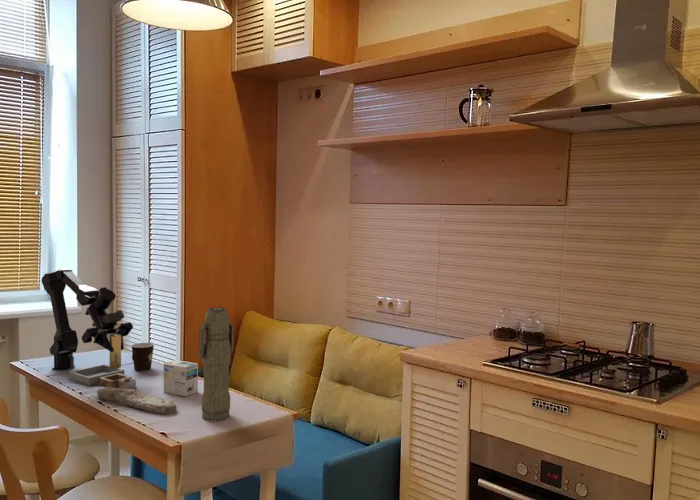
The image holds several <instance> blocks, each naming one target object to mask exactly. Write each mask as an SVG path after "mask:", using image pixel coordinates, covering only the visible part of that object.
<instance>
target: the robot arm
mask: <svg viewBox="0 0 700 500" xmlns="http://www.w3.org/2000/svg"><path fill="white" fill-rule="evenodd" d="M41 284H42V286H43V288H44V291H45V292H46V293H47V295H49V297H50V302H51V309H52V313H53V318H54V323H55V329H56V331H55V333H54V335H53V343H52V345H51V346H50V347H49V355H51V356H53V367H52V368H51V370H54V371H55V370H56V371H68V370H71V369H72V368H75V367H76V365H75V363H74V362H75V357H74V356H73V354H74V353H77V350H78V345H79V338H78V334H77V330H75V329H72V328H71V326H70V322H69V316H68V311H67V306H66V305H67V304H66V300H65V296H64V291H65V289H66V287H68V288H69V289H70V290H71V291H72V292H73V293H74V294H75V295H76V296H75V297H76V298H75V299H76V300H77V302H78V303H79V305H81V306H83V307H84V306H88V307H87V308H86V310H85V313H84V314H85V316H90V318H91V321H92V324H91V325H92V327H90V328H86V329H85V331H84V333H82V336H81V340H82V341H81V342H82V343H83V344H88V343H89V344H90V343H91V342H92V341H93V344H97V345H99V346H101V347H103V348H104V349H105V350H107V351H108V352H109V353H110V352H113V348H112V346H111V344H110V339H109V338H108V335H114V334H119V335H121V351H123V350H124V339H123V338H124V337H126V336H128V335H129V334H130V332H131V331H132V329H133V328H134V325H133V323H132V322H130V321H127V322H121V323H120V324H119V326H118V327H116V326H117V325H118V322H119V321H122V319H124V318H125V313H124V312H123V311H122V310H121V309H120V310H117V311H115V312H110V313H107V311H106V310H108V309H109V308H110V306H112V303H113V302H114V301H115V299H116V293H115V292H113V291H112V290H111V289H108V288H107V287H106V286H102V287H100V288H99V290H98V289H96V288H95V287H94V286H90V285H89V286H88V285H87V284H86V283H85V282H83V280H81V279H80V278H79V277H78V276H77V275H76V274H75V273H73V270H72V269H70V268H61V269H58V270H56V271H53V272H48V273H44V275H43V276H42V277H41ZM93 339H94V340H93Z"/></svg>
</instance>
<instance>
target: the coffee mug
mask: <svg viewBox="0 0 700 500" xmlns="http://www.w3.org/2000/svg"><path fill="white" fill-rule="evenodd" d="M154 347H155V344H154V343H151V342H136V343H133V344H131V351H132V352H131V353H132V355H131V359H132V363H133V369H134V371H136V372H148V371H150V370H151V369H152V362H153V354H154Z"/></svg>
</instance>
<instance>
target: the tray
mask: <svg viewBox="0 0 700 500" xmlns="http://www.w3.org/2000/svg"><path fill="white" fill-rule="evenodd" d="M117 373H119V374H123V375H125V369H123V368H117V369H111V368H110V364H109V365H108V364H105V363H104V364H100V365H94V366H90V367H85V368H80V369H76V370H71V371H68V379H69V380H70V381H72V382H76V383H78V384H82V385H85V386H87V387H90V386H96V385H99V378H100V377H104V376H108V375H113V374H117Z"/></svg>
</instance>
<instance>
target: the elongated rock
mask: <svg viewBox="0 0 700 500" xmlns="http://www.w3.org/2000/svg"><path fill="white" fill-rule="evenodd" d="M96 394H97V397H98V398H99V399H101V400H104V401H105V402H110V403H111V404H114V405H121V406H125V407H126V406H130V407H131V408H134V409H141V410H143V411H146V412H148V413H151V414H152V413H154V414H162V415H170V414H174V412H175V413H176V412H177V404H175V403H174V402H173V401H171V400H168V399H163V398H161V397H157V396H153V395H148V394H146V393H143V392H142V391H139V389H135V388H134V389H128V388H119V387H117V388H113V387H105V386H102V387H99V388H98V389H97V390H96Z"/></svg>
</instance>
